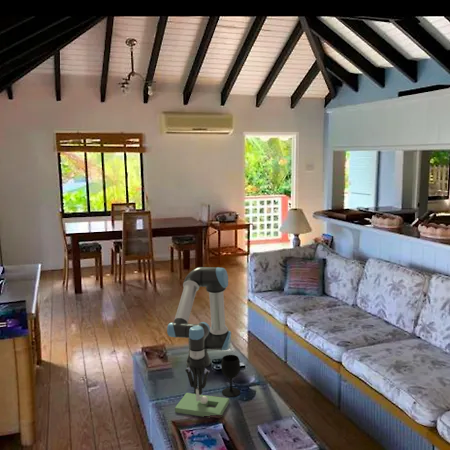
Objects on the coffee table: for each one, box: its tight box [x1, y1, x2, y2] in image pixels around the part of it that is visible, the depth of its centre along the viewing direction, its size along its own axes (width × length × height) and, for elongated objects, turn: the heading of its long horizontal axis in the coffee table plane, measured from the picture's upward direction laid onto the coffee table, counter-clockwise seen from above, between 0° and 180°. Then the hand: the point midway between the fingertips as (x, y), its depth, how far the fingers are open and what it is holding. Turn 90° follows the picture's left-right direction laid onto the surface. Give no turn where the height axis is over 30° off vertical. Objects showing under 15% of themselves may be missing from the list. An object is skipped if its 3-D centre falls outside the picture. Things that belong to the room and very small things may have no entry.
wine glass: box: [220, 354, 241, 398], centre depth 260 cm, size 10×10×20 cm
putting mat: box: [174, 392, 230, 417], centre depth 246 cm, size 16×24×2 cm, turn 73°
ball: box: [200, 396, 208, 404], centre depth 245 cm, size 4×4×4 cm
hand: (198, 399), depth 246 cm, fingers closed
